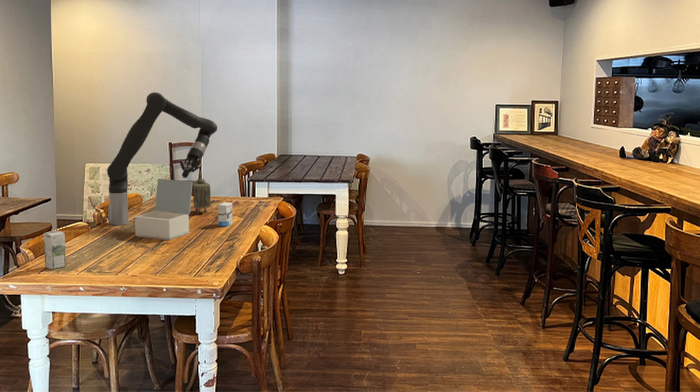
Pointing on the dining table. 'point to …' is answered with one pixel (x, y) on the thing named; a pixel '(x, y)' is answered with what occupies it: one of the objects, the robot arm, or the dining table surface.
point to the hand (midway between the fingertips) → (184, 177)
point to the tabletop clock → (201, 194)
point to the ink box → (225, 214)
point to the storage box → (162, 225)
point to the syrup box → (54, 249)
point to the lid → (173, 196)
